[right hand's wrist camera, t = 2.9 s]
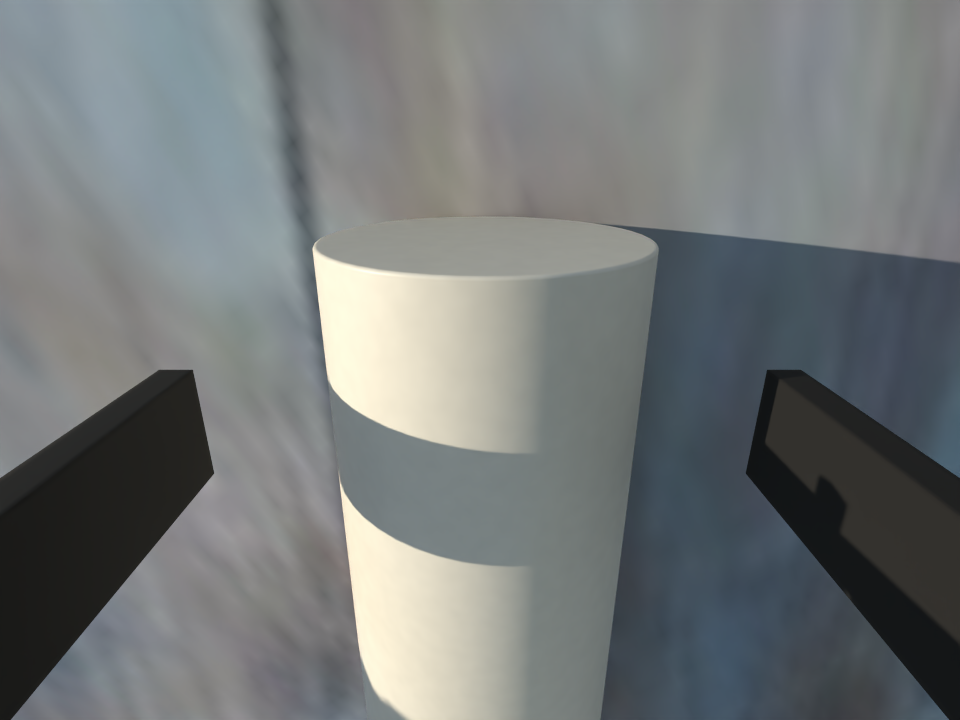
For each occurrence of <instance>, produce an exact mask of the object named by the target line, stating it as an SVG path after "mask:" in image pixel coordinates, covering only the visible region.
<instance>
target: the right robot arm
mask: <svg viewBox="0 0 960 720" xmlns="http://www.w3.org/2000/svg"><path fill="white" fill-rule="evenodd" d="M213 474H214V470H213V465H212V461H211V456H210V451H209V446H208V441H207V436H206V432H205V427H204V422H203V417H202V412H201V407H200V403H199V398H198V393H197V388H196V383H195V378H194V374H193V370H158V371H157V372H155V373H154V374H153V375H151V376H150V377H148V378H147V379H145V380H144V381H142V382H141V383H139V384H138V385H136V386H135V387H133V388H132V389H130V390H129V391H128V392H126V393H125V394H123V395H122V396H120V397H119V398H117V399H116V400H114V401H113V402H111V403H110V404H108V405H107V406H106V407H104V408H103V409H101V410H100V411H98V412H97V413H95V414H94V415H92V416H91V417H89V418H88V419H86V420H85V421H84V422H82V423H81V424H79V425H78V426H76V427H75V428H73V429H72V430H70V431H69V432H67V433H66V434H64V435H63V436H61V437H60V438H59V439H57V440H56V441H54V442H53V443H51V444H50V445H48V446H47V447H45V448H44V449H42V450H41V451H39V452H38V453H37V454H35V455H34V456H32V457H31V458H29V459H28V460H26V461H25V462H23V463H22V464H20V465H19V466H17V467H16V468H15V469H13V470H12V471H10V472H9V473H7V474H6V475H4V476H3V477H1V478H0V720H11V719H12V718H13V716H14V715H15V714H16V713H17V712H18V710H19V709H20V708H21V707H22V705H23V704H24V703H25V702H26V701H27V699H28V698H29V697H30V696H31V695H32V693H33V692H34V691H35V690H36V688H37V687H38V686H39V685H40V684H41V682H42V681H43V680H44V679H45V678H46V676H47V675H48V674H49V673H50V672H51V670H52V669H53V668H54V667H55V665H56V664H57V663H58V662H59V661H60V659H61V658H62V657H63V656H64V655H65V653H66V652H67V651H68V650H69V649H70V647H71V646H72V645H73V644H74V642H75V641H76V640H77V639H78V638H79V636H80V635H81V634H82V633H83V632H84V630H85V629H86V628H87V627H88V626H89V624H90V623H91V622H92V621H93V619H94V618H95V617H96V616H97V615H98V613H99V612H100V611H101V610H102V609H103V607H104V606H105V605H106V604H107V603H108V601H109V600H110V599H111V598H112V596H113V595H114V594H115V593H116V592H117V590H118V589H119V588H120V587H121V586H122V584H123V583H124V582H125V581H126V580H127V578H128V577H129V576H130V575H131V573H132V572H133V571H134V570H135V569H136V567H137V566H138V565H139V564H140V563H141V561H142V560H143V559H144V558H145V557H146V555H147V554H148V553H149V552H150V550H151V549H152V548H153V547H154V546H155V544H156V543H157V542H158V541H159V540H160V538H161V537H162V536H163V535H164V533H165V532H166V531H167V530H168V529H169V527H170V526H171V525H172V524H173V523H174V521H175V520H176V519H177V518H178V517H179V515H180V514H181V513H182V512H183V510H184V509H185V508H186V507H187V506H188V504H189V503H190V502H191V501H192V500H193V498H194V497H195V496H196V495H197V494H198V492H199V491H200V490H201V489H202V487H203V486H204V485H205V484H206V483H207V481H208V480H209V479H210V478H211V477H212V475H213ZM746 474H747V475H748V477H749V478H750V479H751V480H752V481H753V483H754V484H755V485H756V486H757V487H758V489H759V490H760V491H761V492H762V494H763V495H764V496H765V497H766V498H767V500H768V501H769V502H770V503H771V504H772V506H773V507H774V508H775V509H776V510H777V512H778V513H779V514H780V515H781V517H782V518H783V519H784V520H785V521H786V523H787V524H788V525H789V526H790V527H791V529H792V530H793V531H794V532H795V534H796V535H797V536H798V537H799V538H800V540H801V541H802V542H803V543H804V544H805V546H806V547H807V548H808V549H809V550H810V552H811V553H812V554H813V555H814V557H815V558H816V559H817V560H818V561H819V563H820V564H821V565H822V566H823V567H824V569H825V570H826V571H827V572H828V573H829V575H830V576H831V577H832V578H833V580H834V581H835V582H836V583H837V584H838V586H839V587H840V588H841V589H842V590H843V592H844V593H845V594H846V595H847V596H848V598H849V599H850V600H851V601H852V603H853V604H854V605H855V606H856V607H857V609H858V610H859V611H860V612H861V613H862V615H863V616H864V617H865V618H866V619H867V621H868V622H869V623H870V624H871V626H872V627H873V628H874V629H875V630H876V632H877V633H878V634H879V635H880V636H881V638H882V639H883V640H884V641H885V642H886V644H887V645H888V646H889V647H890V649H891V650H892V651H893V652H894V653H895V655H896V656H897V657H898V658H899V659H900V661H901V662H902V663H903V664H904V665H905V667H906V668H907V669H908V670H909V672H910V673H911V674H912V675H913V676H914V678H915V679H916V680H917V681H918V682H919V684H920V685H921V686H922V687H923V689H924V690H925V691H926V692H927V693H928V695H929V696H930V697H931V698H932V699H933V701H934V702H935V703H936V704H937V705H938V707H939V708H940V709H941V710H942V712H943V713H944V714H945V715H946V716H947V718H948V719H949V720H960V478H959V477H957V476H956V475H954V474H953V473H951V472H950V471H948V470H947V469H945V468H944V467H943V466H941V465H940V464H938V463H937V462H935V461H934V460H932V459H931V458H929V457H928V456H926V455H925V454H923V453H922V452H921V451H919V450H918V449H916V448H915V447H913V446H912V445H910V444H909V443H907V442H906V441H904V440H903V439H901V438H900V437H899V436H897V435H896V434H894V433H893V432H891V431H890V430H888V429H887V428H885V427H884V426H882V425H881V424H879V423H878V422H876V421H875V420H874V419H872V418H871V417H869V416H868V415H866V414H865V413H863V412H862V411H860V410H859V409H857V408H856V407H854V406H853V405H852V404H850V403H849V402H847V401H846V400H844V399H843V398H841V397H840V396H838V395H837V394H835V393H834V392H832V391H831V390H830V389H828V388H827V387H825V386H824V385H822V384H821V383H819V382H818V381H816V380H815V379H813V378H812V377H810V376H809V375H807V374H806V373H805V372H803V371H802V370H767V374H766V378H765V383H764V388H763V393H762V398H761V403H760V407H759V412H758V417H757V422H756V427H755V432H754V436H753V441H752V446H751V451H750V456H749V461H748V465H747V470H746Z"/></svg>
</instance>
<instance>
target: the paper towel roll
mask: <svg viewBox="0 0 960 720" xmlns="http://www.w3.org/2000/svg"><path fill="white" fill-rule="evenodd" d="M658 254H659V248H658V246H657V244H656V242H654V241H653V240H652V239H650V238H648V237H646V236H644V235H642V234H639V233H636V232H633V231H629V230H626V229H622V228H617V227H612V226H607V225H601V224H595V223H587V222H580V221H570V220H560V219H547V218H530V217H497V216H471V217H439V218H422V219H409V220H399V221H389V222H382V223H374V224H368V225H362V226H357V227H353V228H348V229H344V230H341V231H337V232H335V233H332V234H329V235H327V236H325V237H323V238H321V239H319V240H318V241H317V242H316V243H315V245H314V247H313V256H314V264H315V273H316V282H317V290H318V299H319V307H320V316H321V325H322V333H323V342H324V350H325V359H326V368H327V376H328V385H329V393H330V402H331V410H332V419H333V428H334V436H335V445H336V453H337V462H338V471H339V479H340V488H341V496H342V505H343V514H344V522H345V531H346V539H347V548H348V557H349V565H350V574H351V582H352V591H353V600H354V608H355V617H356V625H357V634H358V642H359V651H360V660H361V668H362V677H363V685H364V694H365V703H366V711H367V720H601V711H602V703H603V695H604V687H605V679H606V671H607V663H608V655H609V647H610V639H611V631H612V623H613V615H614V607H615V599H616V591H617V583H618V575H619V567H620V559H621V551H622V543H623V535H624V527H625V519H626V511H627V503H628V495H629V487H630V479H631V471H632V462H633V454H634V446H635V438H636V430H637V422H638V414H639V406H640V398H641V390H642V382H643V374H644V366H645V358H646V350H647V342H648V334H649V326H650V318H651V310H652V302H653V294H654V286H655V278H656V270H657V262H658Z"/></svg>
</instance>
